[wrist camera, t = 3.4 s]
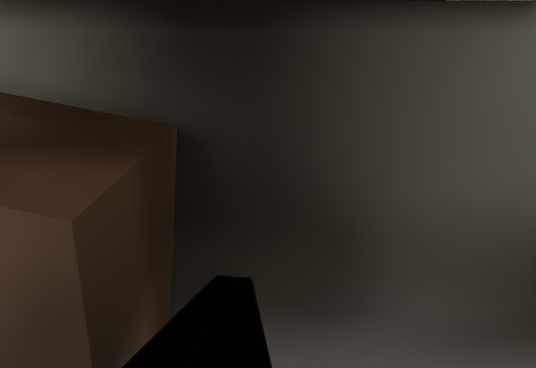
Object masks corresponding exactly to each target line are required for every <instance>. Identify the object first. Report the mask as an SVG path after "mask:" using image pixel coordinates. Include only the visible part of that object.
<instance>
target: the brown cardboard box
mask: <svg viewBox="0 0 536 368" xmlns="http://www.w3.org/2000/svg"><path fill="white" fill-rule="evenodd" d="M176 148H177V127H174V126H169V125H164V124H159V123H153V122H148V121H143V120H138V119H133V118H128V117H123V116H118V115H113V114H108V113H103V112H98V111H93V110H87V109H82V108H77V107H72V106H67V105H62V104H57V103H52V102H47V101H42V100H37V99H32V98H27V97H22V96H16V95H11V94H6V93H1V92H0V368H121V367H122V366H123V365H124V364H126V363H127V362H128V361H129V360H130V359H131V358H132V357H133V356H134V355H135V354H136V353H137V352H138V351H139V350H140V349H141V348H142V347H143V346H144V345H145V344H146V343H147V342H148V341H149V340H150V339H151V338H152V337H153V336H154V335H155V334H156V333H157V332H158V331H159V330H161V329H162V328H163V327H164V326H165V325H166V324H167V323H168V322H169V321H170V320H171V301H172V270H173V240H174V209H175V178H176Z"/></svg>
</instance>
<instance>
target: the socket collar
mask: <svg viewBox="0 0 536 368" xmlns="http://www.w3.org/2000/svg"><path fill="white" fill-rule="evenodd" d="M448 1H536V0H448Z"/></svg>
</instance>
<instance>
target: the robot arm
mask: <svg viewBox="0 0 536 368" xmlns="http://www.w3.org/2000/svg"><path fill="white" fill-rule="evenodd" d="M121 368H272V365H271V361H270V356H269V352H268V347H267V343H266V338H265V334H264V330H263V325H262V321H261V316H260V312H259V307H258V303H257V299H256V294H255V290H254V285H253V281H252V279H251V278H250V277H238V276H237V277H235V278H234V277H232V276H227V275H217V276H215V277H214V278H213V279H212V280H211V281H210V282H209V283H208V284H207V285H206V286H205V287H204V288H203V289H202V290H201V291H200V292H199V293H198V294H197V295H196V296H195V297H193V298H192V299H191V300H190V301H189V302H188V303H187V304H186V305H185V306H184V307H183V308H182V309H181V310H180V311H179V312H178V313H177V314H176V315H175V316H174V317H173V318H172V319H171V320H170V321H169V322H168V323H167V324H166V325H165V326H164V327H163V328H162V329H161V330H159V331H158V332H157V333H156V334H155V335H154V336H153V337H152V338H151V339H150V340H149V341H148V342H147V343H146V344H145V345H144V346H143V347H142V348H141V349H140V350H139V351H138V352H137V353H136V354H135V355H134V356H133V357H132V358H131V359H130V360H129V361H128V362H127V363H126V364H124V365H123V366H122V367H121Z"/></svg>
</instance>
